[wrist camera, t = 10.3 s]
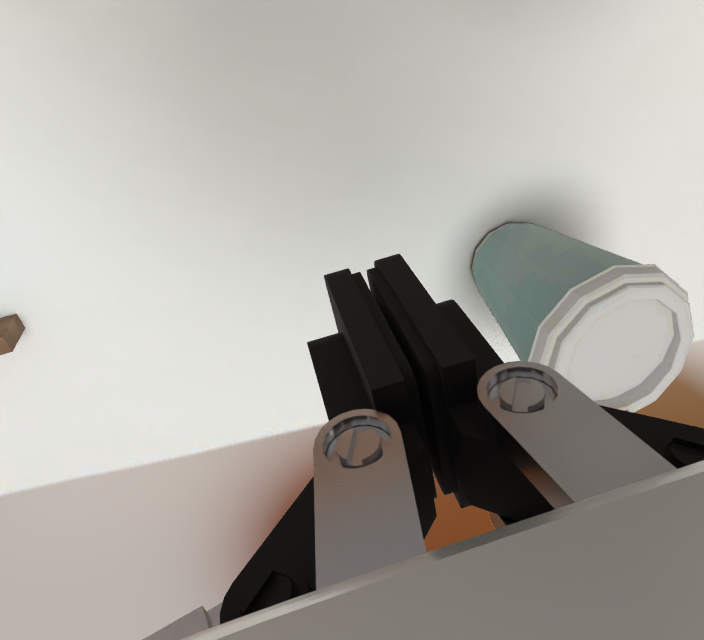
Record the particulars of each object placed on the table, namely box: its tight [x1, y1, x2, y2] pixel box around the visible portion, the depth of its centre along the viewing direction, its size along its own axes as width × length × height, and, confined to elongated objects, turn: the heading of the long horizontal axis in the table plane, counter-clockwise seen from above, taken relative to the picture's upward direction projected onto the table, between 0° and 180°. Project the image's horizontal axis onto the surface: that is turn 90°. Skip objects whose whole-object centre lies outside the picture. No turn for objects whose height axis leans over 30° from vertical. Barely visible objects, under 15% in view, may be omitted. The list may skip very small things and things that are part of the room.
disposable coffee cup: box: [472, 223, 694, 412], centre depth 38 cm, size 11×11×15 cm
